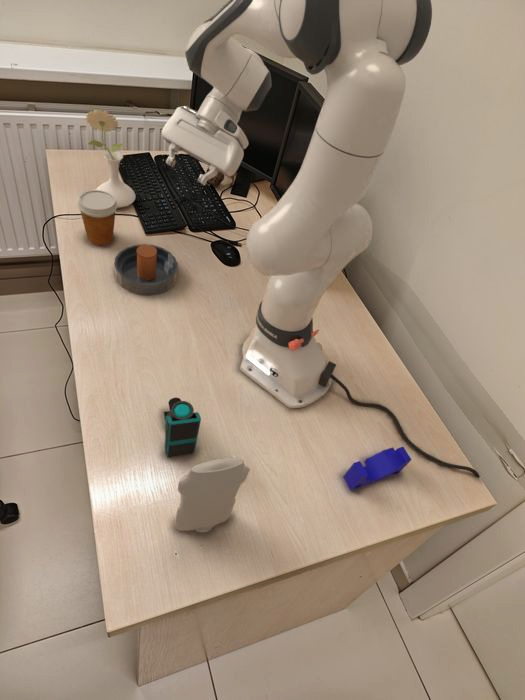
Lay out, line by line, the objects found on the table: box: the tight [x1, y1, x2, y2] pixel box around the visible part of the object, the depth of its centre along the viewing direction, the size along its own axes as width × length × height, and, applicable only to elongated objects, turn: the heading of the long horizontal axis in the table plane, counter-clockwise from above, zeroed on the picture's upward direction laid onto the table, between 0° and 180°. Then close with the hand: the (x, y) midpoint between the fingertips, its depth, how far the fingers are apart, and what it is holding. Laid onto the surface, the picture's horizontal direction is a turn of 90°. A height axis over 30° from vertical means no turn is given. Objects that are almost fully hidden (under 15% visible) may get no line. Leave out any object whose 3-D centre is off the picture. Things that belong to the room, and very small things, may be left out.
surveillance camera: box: [163, 397, 202, 458], centre depth 86 cm, size 6×12×10 cm
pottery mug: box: [204, 165, 237, 188], centre depth 150 cm, size 12×10×8 cm
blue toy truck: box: [343, 446, 412, 491], centre depth 91 cm, size 12×4×6 cm, turn 114°
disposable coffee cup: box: [76, 189, 118, 246], centre depth 119 cm, size 10×10×12 cm
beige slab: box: [174, 457, 250, 534], centre depth 72 cm, size 11×4×22 cm, turn 107°
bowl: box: [113, 243, 179, 296], centre depth 116 cm, size 15×15×4 cm
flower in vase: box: [84, 109, 137, 209], centre depth 126 cm, size 13×11×25 cm
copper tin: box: [137, 244, 157, 280], centre depth 114 cm, size 5×5×8 cm
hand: (184, 174), depth 107 cm, fingers open, 8 cm apart
